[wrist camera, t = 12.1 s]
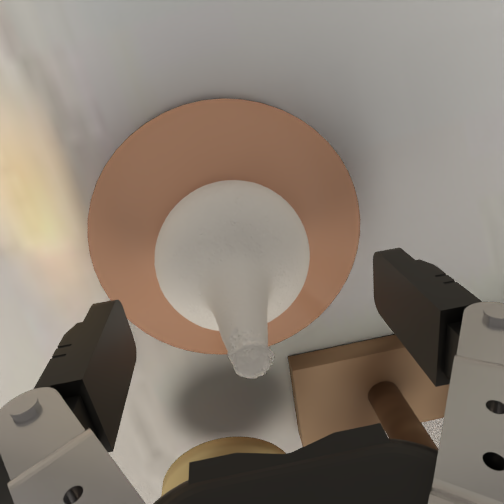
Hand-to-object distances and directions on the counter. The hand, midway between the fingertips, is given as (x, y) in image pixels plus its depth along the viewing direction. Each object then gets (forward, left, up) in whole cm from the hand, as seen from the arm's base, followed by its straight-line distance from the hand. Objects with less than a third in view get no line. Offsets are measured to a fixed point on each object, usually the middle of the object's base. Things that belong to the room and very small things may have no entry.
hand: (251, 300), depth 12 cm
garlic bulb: (0, 0, -6) cm, 6 cm away
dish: (0, 0, -7) cm, 7 cm away
